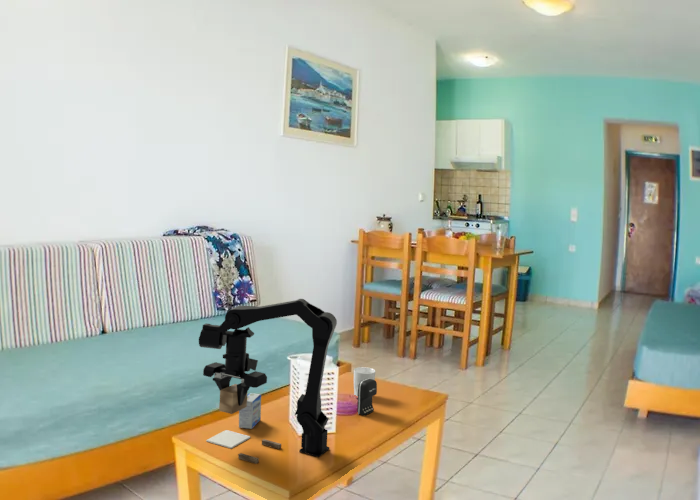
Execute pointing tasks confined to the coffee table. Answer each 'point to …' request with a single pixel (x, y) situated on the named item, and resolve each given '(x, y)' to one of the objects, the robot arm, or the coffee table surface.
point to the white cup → (362, 376)
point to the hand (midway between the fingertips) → (233, 403)
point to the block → (230, 400)
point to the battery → (366, 396)
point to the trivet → (228, 439)
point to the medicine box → (250, 411)
